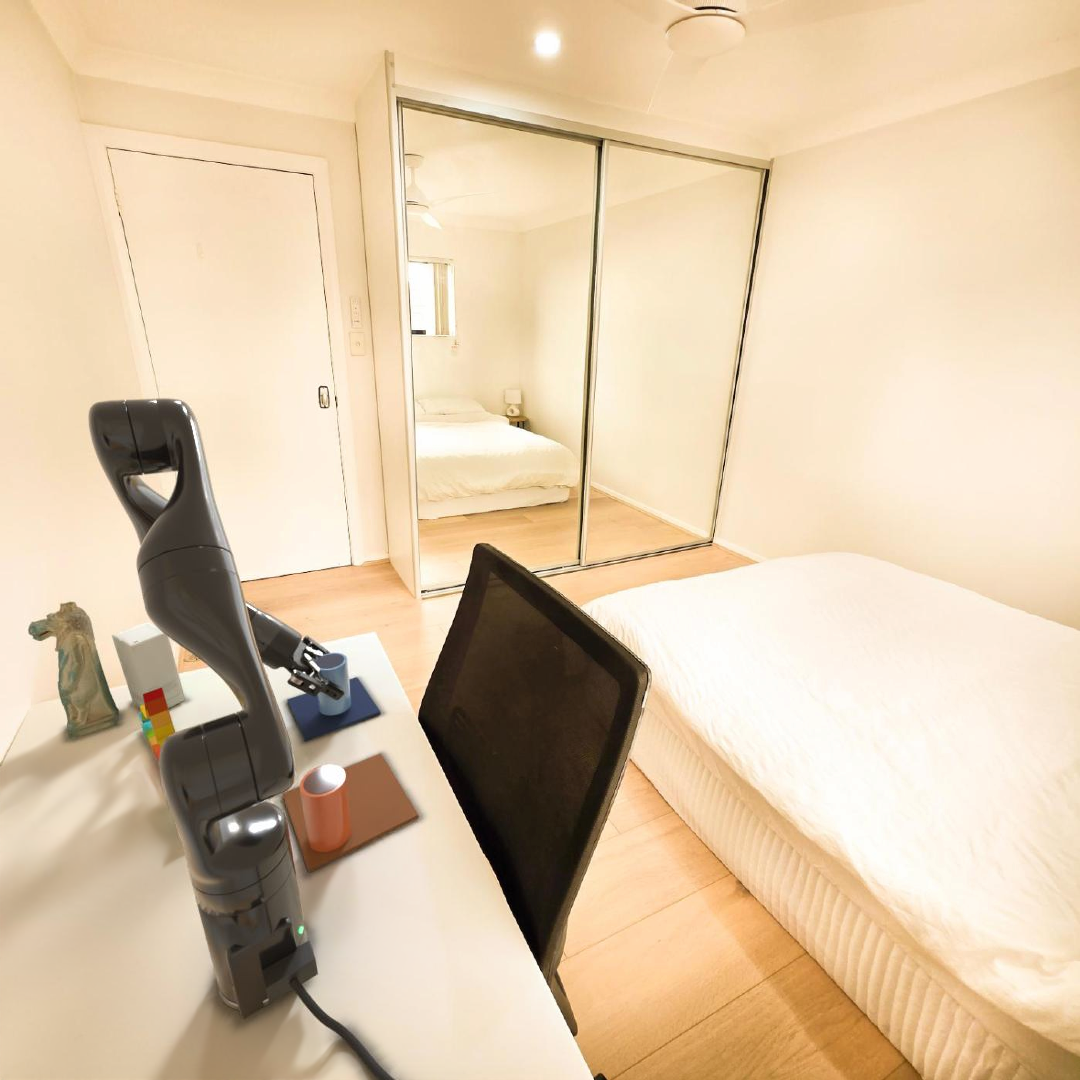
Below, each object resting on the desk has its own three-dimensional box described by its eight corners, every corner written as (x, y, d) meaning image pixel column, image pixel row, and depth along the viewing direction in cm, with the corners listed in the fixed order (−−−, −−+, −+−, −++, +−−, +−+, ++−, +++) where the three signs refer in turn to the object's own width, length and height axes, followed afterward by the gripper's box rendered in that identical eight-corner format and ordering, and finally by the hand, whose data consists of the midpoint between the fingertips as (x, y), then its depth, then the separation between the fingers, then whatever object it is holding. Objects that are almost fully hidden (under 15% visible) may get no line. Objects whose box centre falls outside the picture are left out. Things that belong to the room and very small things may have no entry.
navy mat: (380, 713, 104) (380, 711, 103) (305, 741, 96) (304, 739, 96) (357, 679, 114) (357, 676, 114) (287, 701, 106) (287, 699, 106)
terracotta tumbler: (357, 838, 76) (351, 784, 73) (314, 860, 73) (305, 804, 70) (344, 811, 81) (338, 758, 78) (303, 829, 78) (294, 775, 74)
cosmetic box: (186, 700, 106) (170, 632, 100) (149, 718, 100) (130, 646, 95) (165, 686, 110) (149, 619, 105) (128, 702, 105) (109, 633, 99)
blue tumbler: (358, 703, 104) (353, 659, 100) (331, 719, 99) (326, 673, 96) (338, 692, 107) (334, 649, 103) (312, 707, 102) (306, 662, 99)
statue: (60, 727, 97) (20, 605, 89) (117, 707, 103) (84, 591, 95) (65, 746, 93) (23, 619, 85) (124, 724, 99) (90, 603, 90)
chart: (219, 821, 79) (200, 739, 74) (194, 833, 77) (173, 750, 72) (164, 725, 99) (146, 655, 94) (143, 733, 97) (124, 662, 92)
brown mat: (418, 817, 81) (418, 814, 81) (308, 872, 72) (308, 869, 72) (381, 755, 93) (380, 752, 93) (282, 796, 84) (282, 793, 84)
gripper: (273, 644, 88) (354, 694, 95) (286, 605, 101) (357, 652, 108) (243, 675, 88) (326, 723, 96) (260, 633, 101) (332, 678, 109)
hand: (342, 685), depth 102 cm, fingers closed on blue tumbler, 6 cm apart
